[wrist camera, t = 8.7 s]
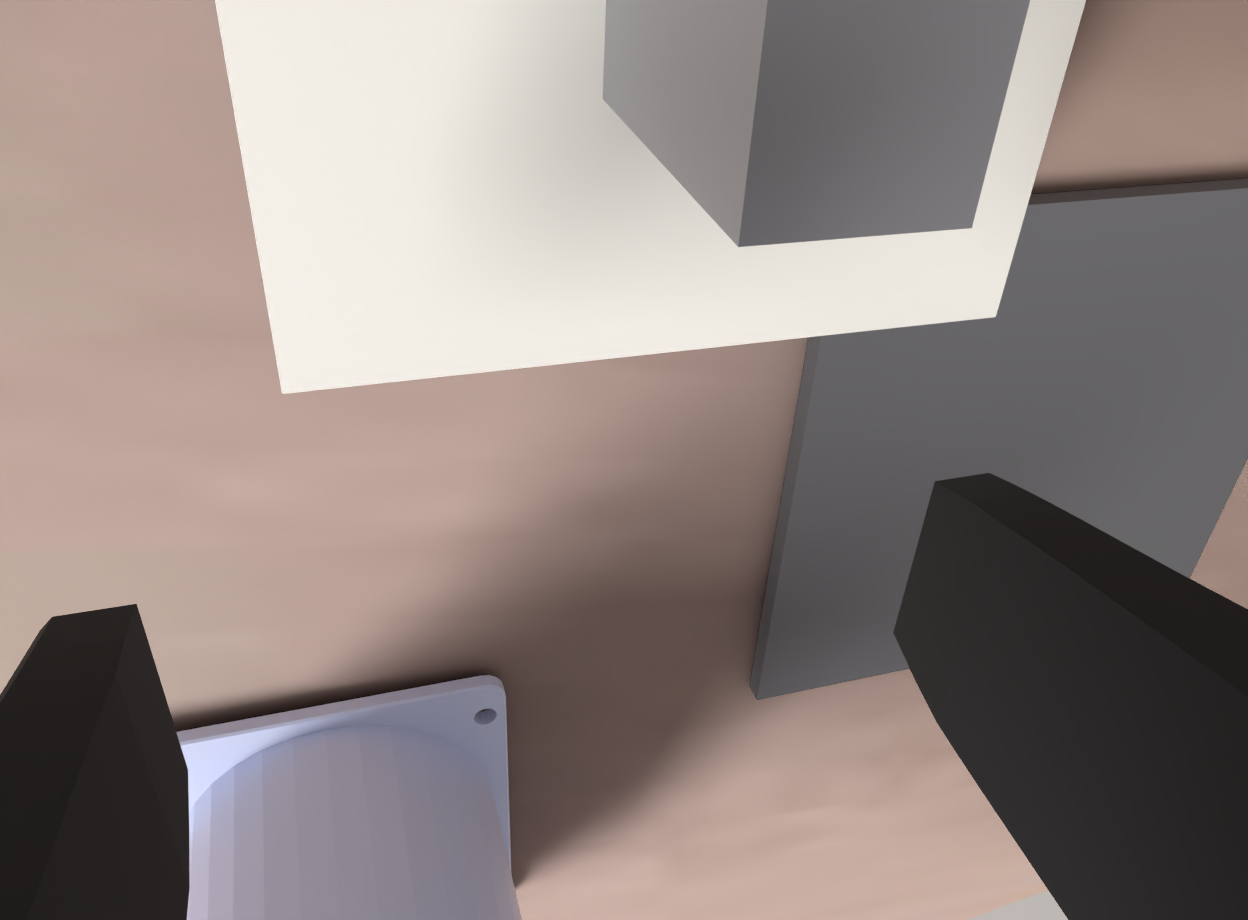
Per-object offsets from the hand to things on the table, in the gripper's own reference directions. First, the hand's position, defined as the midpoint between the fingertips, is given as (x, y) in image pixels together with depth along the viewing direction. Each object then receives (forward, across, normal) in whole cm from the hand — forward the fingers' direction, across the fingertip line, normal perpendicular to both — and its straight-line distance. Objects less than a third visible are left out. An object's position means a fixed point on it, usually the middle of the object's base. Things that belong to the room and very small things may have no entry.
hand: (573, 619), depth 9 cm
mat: (+10, -14, +7) cm, 19 cm away
